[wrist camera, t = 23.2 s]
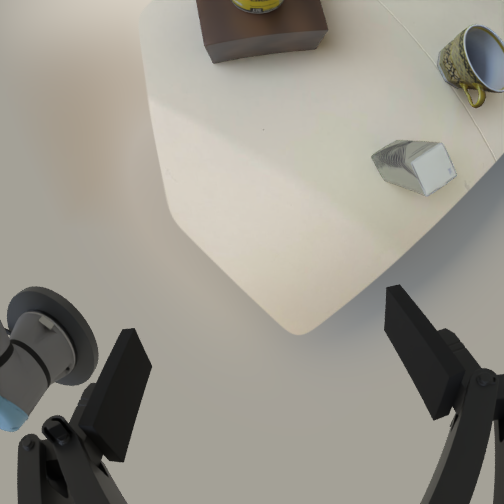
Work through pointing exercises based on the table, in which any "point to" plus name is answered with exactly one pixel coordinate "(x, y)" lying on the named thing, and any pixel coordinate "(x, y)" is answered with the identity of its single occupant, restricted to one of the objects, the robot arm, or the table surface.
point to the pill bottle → (257, 5)
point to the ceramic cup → (474, 62)
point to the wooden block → (260, 28)
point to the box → (415, 165)
